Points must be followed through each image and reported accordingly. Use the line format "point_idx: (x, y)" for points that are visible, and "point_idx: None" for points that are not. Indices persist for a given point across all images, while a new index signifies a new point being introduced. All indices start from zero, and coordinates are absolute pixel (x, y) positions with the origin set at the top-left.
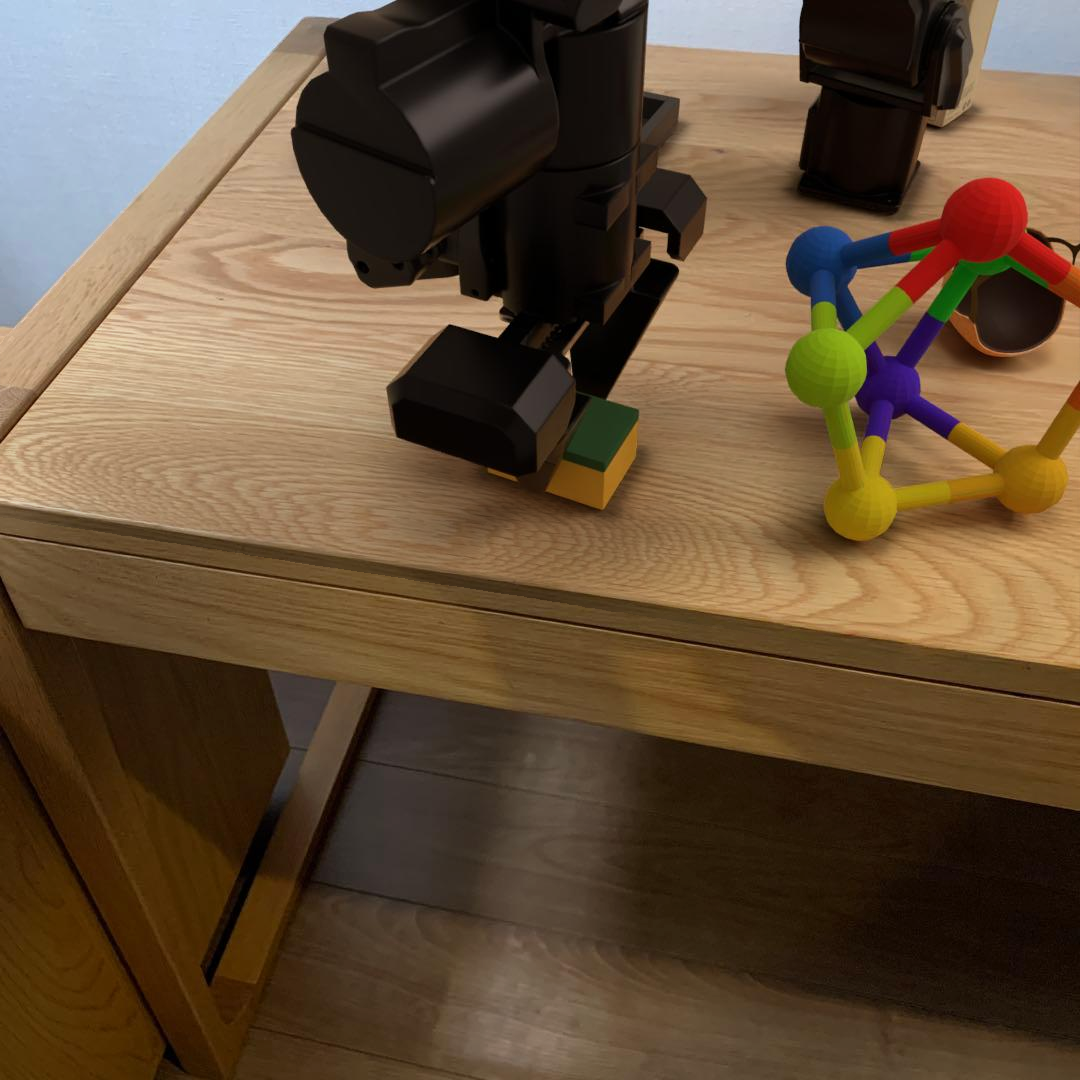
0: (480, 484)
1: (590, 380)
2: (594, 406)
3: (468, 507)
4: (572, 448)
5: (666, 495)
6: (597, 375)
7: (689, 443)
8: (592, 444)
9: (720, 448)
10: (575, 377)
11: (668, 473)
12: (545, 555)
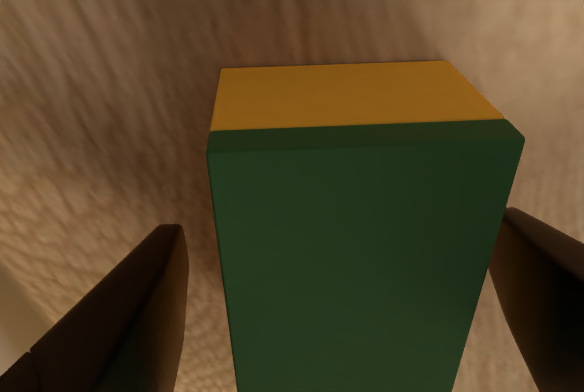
0: (173, 71)
1: (535, 305)
2: (425, 349)
3: (84, 86)
4: (250, 370)
5: None
6: (545, 335)
7: (471, 343)
8: (288, 389)
9: (471, 376)
10: (546, 266)
11: None
12: (84, 277)
